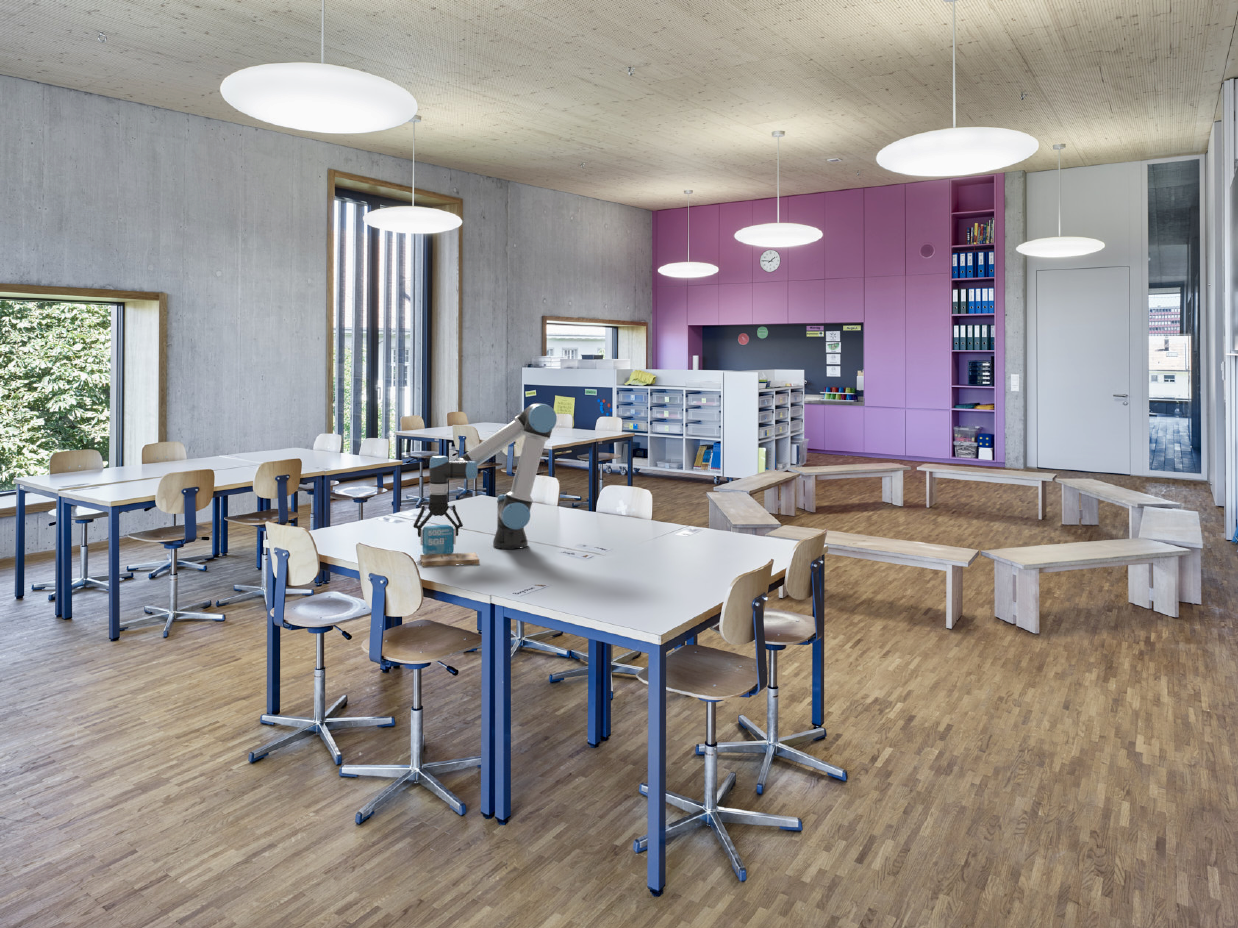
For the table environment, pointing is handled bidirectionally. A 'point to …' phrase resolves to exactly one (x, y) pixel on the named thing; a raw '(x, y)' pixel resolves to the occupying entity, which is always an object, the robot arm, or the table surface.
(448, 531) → the data package
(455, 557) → the oak board
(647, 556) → the table surface
